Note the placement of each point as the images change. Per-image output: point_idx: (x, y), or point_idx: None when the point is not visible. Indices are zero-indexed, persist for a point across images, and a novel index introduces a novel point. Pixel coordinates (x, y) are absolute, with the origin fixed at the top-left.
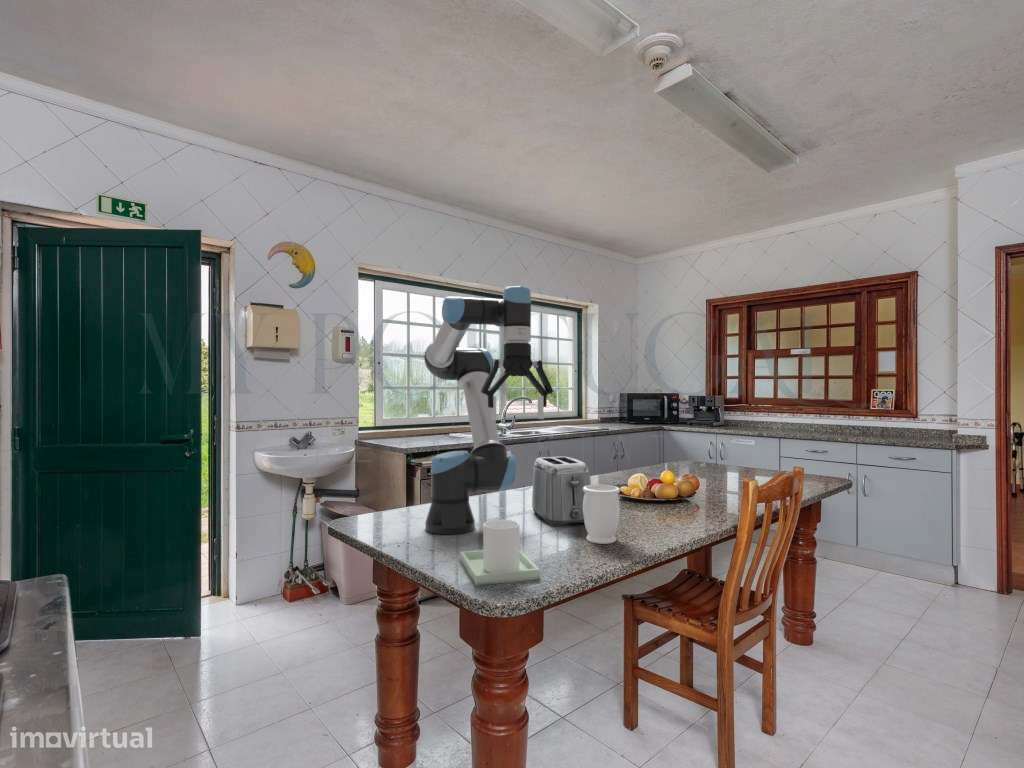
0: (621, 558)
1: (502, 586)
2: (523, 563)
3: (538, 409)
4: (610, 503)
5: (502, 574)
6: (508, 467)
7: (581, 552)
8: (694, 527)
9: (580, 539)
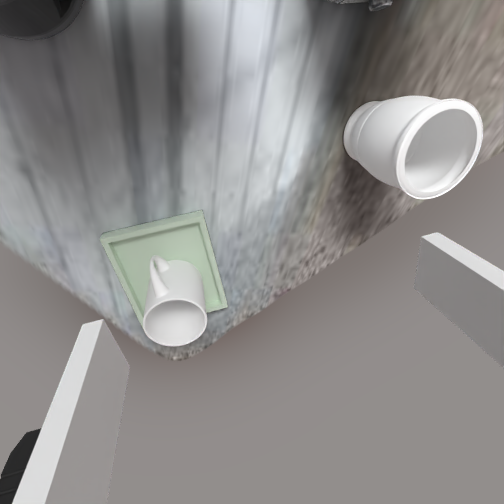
0: (353, 230)
1: None
2: (209, 259)
3: (469, 285)
4: (417, 187)
5: None
6: None
7: (309, 200)
8: None
9: (334, 122)
